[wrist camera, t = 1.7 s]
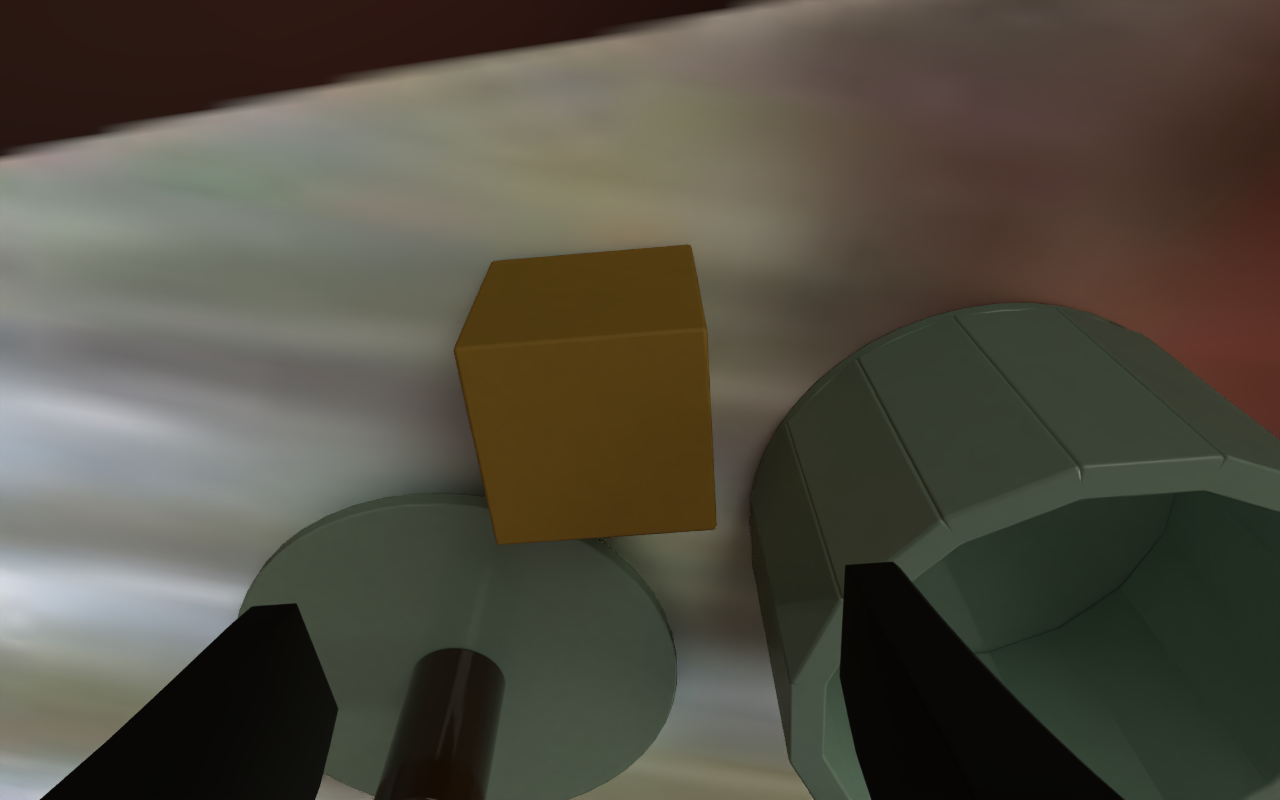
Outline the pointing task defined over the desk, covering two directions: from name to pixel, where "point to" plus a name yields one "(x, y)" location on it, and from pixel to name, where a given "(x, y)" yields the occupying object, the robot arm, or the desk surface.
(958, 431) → the bowl
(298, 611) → the robot arm
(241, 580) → the desk surface
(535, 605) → the lid
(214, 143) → the desk surface
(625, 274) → the block
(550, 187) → the desk surface
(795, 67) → the desk surface
